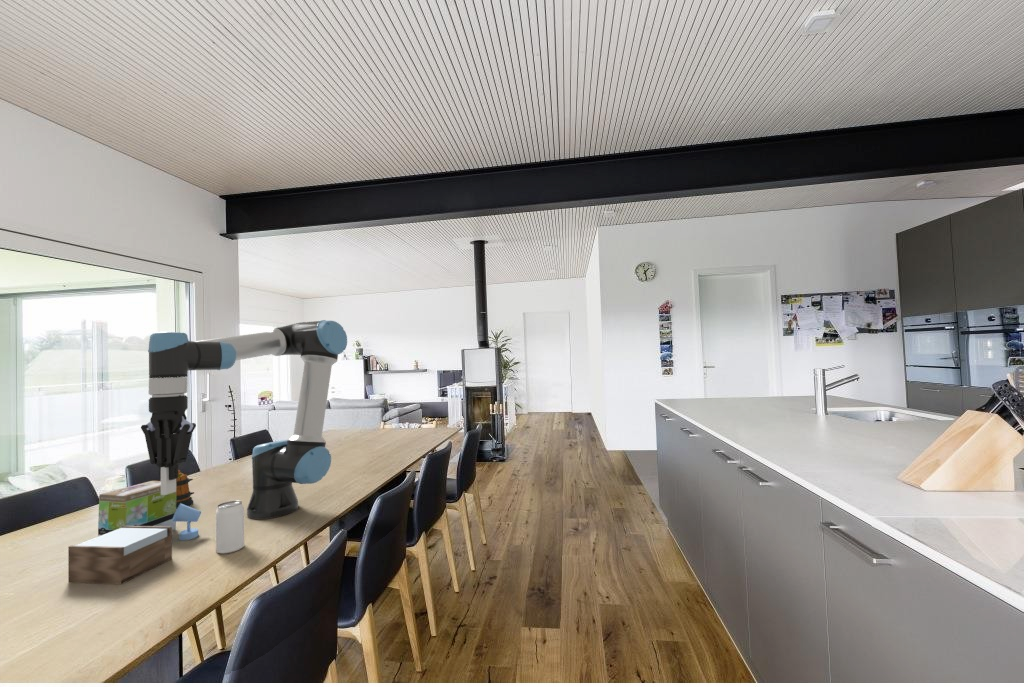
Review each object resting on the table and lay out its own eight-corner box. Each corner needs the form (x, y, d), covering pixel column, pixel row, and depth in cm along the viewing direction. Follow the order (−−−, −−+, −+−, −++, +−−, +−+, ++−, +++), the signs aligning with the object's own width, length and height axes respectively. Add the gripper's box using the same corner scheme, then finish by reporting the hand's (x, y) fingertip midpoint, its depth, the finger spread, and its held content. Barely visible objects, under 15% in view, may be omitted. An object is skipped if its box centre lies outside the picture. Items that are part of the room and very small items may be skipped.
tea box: (126, 550, 122) (125, 495, 122) (96, 548, 124) (96, 494, 124) (177, 529, 136) (177, 480, 137) (150, 527, 138) (150, 479, 139)
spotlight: (171, 543, 125) (201, 536, 129) (171, 507, 125) (201, 502, 130) (172, 538, 129) (201, 531, 133) (171, 503, 129) (200, 498, 134)
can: (250, 545, 122) (249, 501, 122) (228, 555, 116) (227, 508, 116) (232, 543, 124) (232, 499, 124) (209, 552, 118) (209, 506, 118)
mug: (194, 506, 158) (194, 473, 158) (157, 513, 152) (157, 478, 152) (194, 497, 168) (194, 466, 169) (159, 503, 162) (159, 471, 163)
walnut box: (171, 558, 115) (171, 526, 115) (121, 584, 102) (121, 548, 102) (124, 557, 117) (124, 525, 117) (68, 582, 104) (68, 546, 104)
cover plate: (167, 536, 114) (167, 528, 114) (124, 555, 103) (124, 547, 103) (121, 535, 116) (121, 527, 116) (74, 554, 105) (74, 545, 105)
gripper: (205, 393, 112) (205, 489, 111) (159, 394, 114) (158, 488, 113) (178, 396, 105) (178, 498, 104) (130, 397, 106) (129, 497, 105)
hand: (168, 493), depth 108 cm, fingers closed
